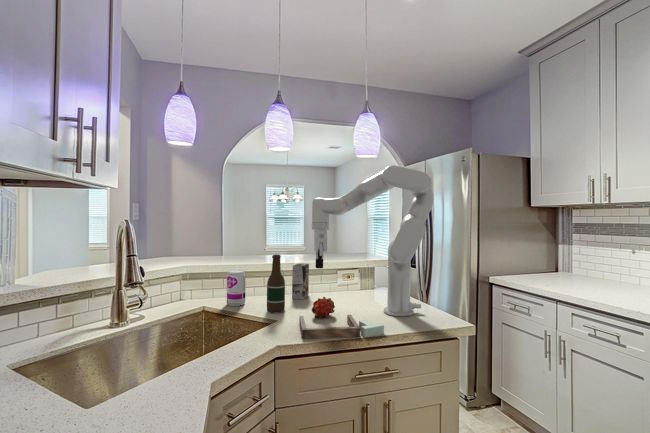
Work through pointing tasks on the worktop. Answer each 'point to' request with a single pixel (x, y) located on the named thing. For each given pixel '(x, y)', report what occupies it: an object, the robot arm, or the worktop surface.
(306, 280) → the coffee box
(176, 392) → the worktop surface
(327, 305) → the dragon fruit
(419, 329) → the worktop surface
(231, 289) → the supplement can
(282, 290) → the beer bottle
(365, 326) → the t block
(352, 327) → the bay
